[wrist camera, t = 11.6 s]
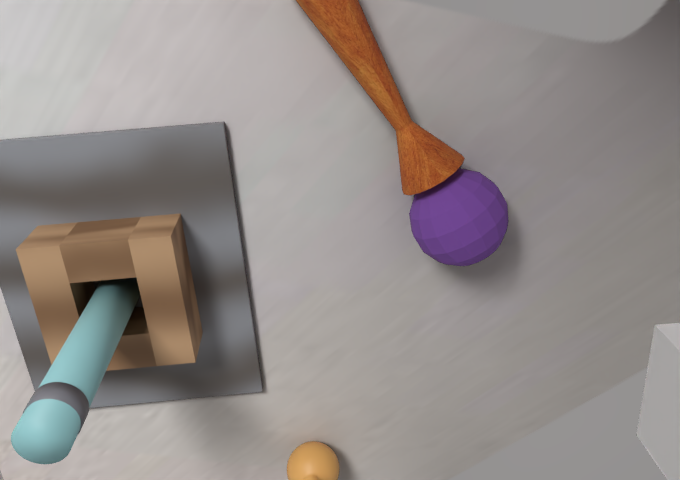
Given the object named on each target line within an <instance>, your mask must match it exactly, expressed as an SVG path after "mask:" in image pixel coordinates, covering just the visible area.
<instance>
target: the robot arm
mask: <svg viewBox="0 0 680 480" xmlns="http://www.w3.org/2000/svg"><path fill="white" fill-rule="evenodd" d="M636 435H637V437H638V439H639V440H640V441H641V443H642V444H643V446H644V447H645V448H646V450H647V451H648V453H649V454H650V456H651V457H652V458H653V460H654V461H655V463H656V464H657V466H658V467H659V468H660V470H661V471H662V473H663V474H664V476H665V477H666V478H667V480H680V323H670V324H659V325H655V326H654V332H653V338H652V344H651V350H650V356H649V362H648V368H647V375H646V380H645V386H644V393H643V398H642V404H641V410H640V416H639V422H638V428H637V434H636ZM0 480H4V479H3V477H2V474H1V472H0Z"/></svg>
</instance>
